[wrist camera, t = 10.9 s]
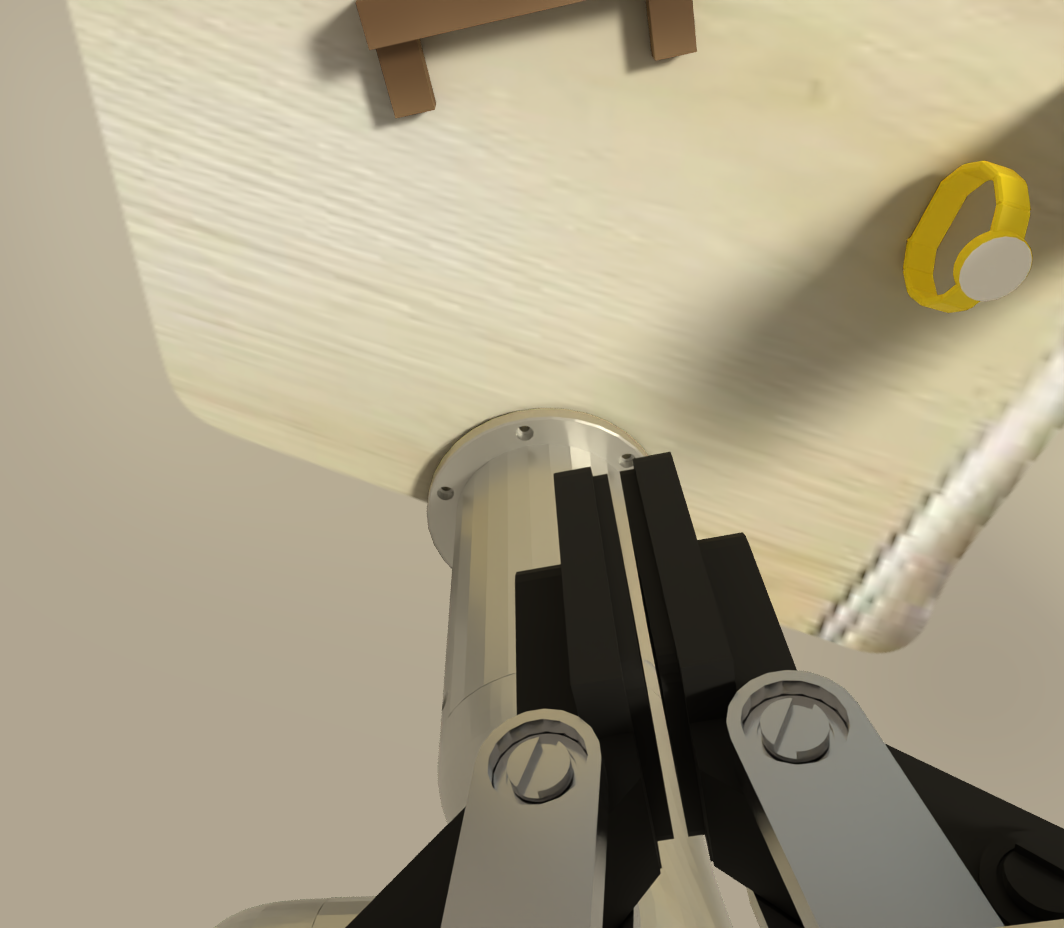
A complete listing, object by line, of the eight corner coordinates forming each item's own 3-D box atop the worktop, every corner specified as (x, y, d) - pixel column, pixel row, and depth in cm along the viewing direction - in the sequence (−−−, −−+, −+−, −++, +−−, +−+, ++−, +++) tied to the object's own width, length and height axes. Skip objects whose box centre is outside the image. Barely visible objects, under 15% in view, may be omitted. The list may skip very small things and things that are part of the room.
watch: (927, 279, 41) (979, 346, 36) (874, 264, 40) (920, 330, 36) (1006, 155, 37) (1074, 213, 32) (949, 137, 36) (1010, 192, 32)
